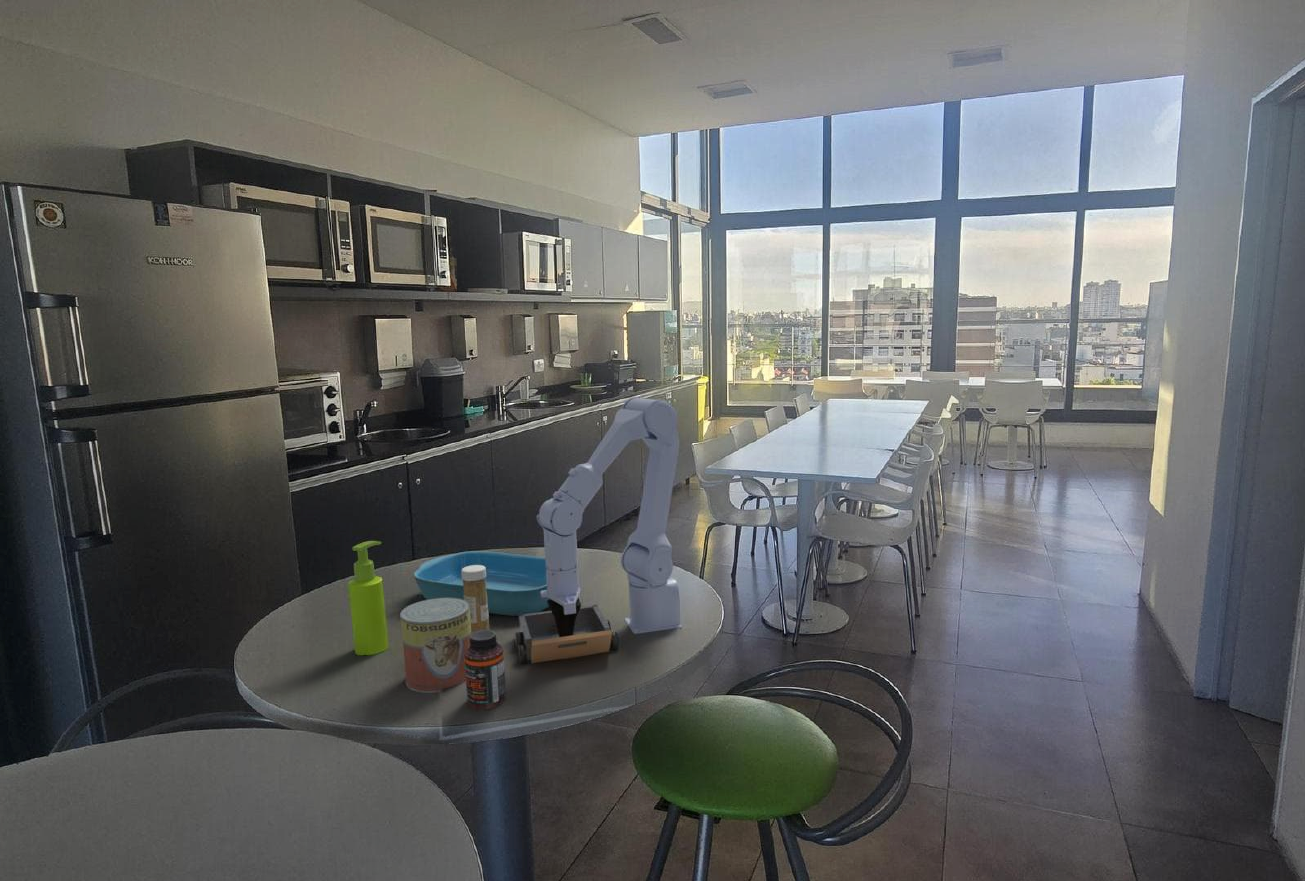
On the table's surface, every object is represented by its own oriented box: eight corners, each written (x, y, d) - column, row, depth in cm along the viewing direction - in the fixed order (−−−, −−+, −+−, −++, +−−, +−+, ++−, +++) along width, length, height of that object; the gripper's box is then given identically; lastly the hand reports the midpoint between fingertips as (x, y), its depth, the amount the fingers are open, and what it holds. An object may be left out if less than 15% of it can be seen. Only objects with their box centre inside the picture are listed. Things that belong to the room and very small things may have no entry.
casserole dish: (595, 590, 169) (594, 559, 168) (544, 627, 148) (542, 592, 147) (458, 575, 183) (456, 546, 182) (395, 607, 162) (392, 575, 161)
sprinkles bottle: (494, 636, 144) (489, 568, 143) (471, 642, 142) (465, 573, 140) (485, 628, 148) (480, 562, 146) (462, 634, 146) (457, 567, 144)
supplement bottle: (459, 709, 117) (454, 639, 115) (482, 691, 122) (477, 624, 121) (492, 715, 115) (487, 644, 113) (513, 697, 120) (509, 629, 118)
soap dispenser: (399, 642, 143) (390, 540, 140) (371, 657, 137) (361, 550, 134) (375, 638, 145) (366, 537, 143) (347, 652, 139) (337, 547, 136)
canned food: (412, 699, 121) (406, 627, 119) (400, 672, 130) (394, 605, 129) (482, 682, 126) (477, 613, 124) (465, 657, 136) (461, 593, 134)
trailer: (603, 625, 148) (602, 603, 147) (618, 652, 135) (617, 628, 134) (513, 638, 143) (512, 615, 142) (521, 667, 130) (519, 642, 130)
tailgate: (607, 647, 135) (611, 629, 131) (608, 651, 134) (612, 634, 130) (531, 659, 131) (532, 641, 127) (531, 663, 131) (532, 645, 126)
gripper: (534, 557, 141) (538, 626, 143) (544, 581, 127) (549, 658, 129) (572, 552, 143) (575, 621, 145) (586, 576, 129) (590, 652, 131)
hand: (565, 638), depth 137 cm, fingers closed
